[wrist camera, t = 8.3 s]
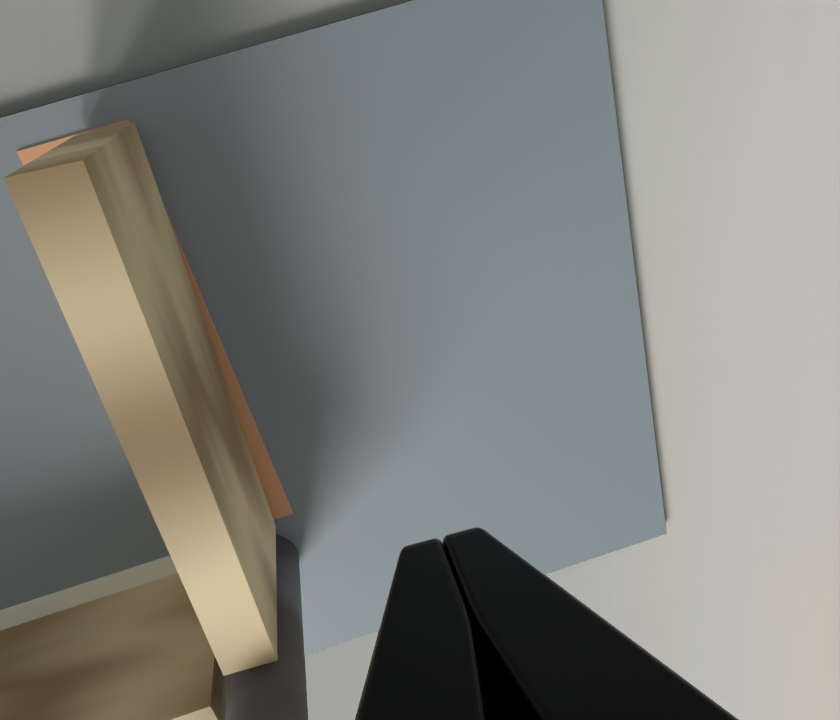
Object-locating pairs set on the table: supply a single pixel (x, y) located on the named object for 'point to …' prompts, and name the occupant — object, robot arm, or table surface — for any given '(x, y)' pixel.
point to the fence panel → (157, 377)
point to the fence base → (150, 660)
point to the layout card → (359, 307)
